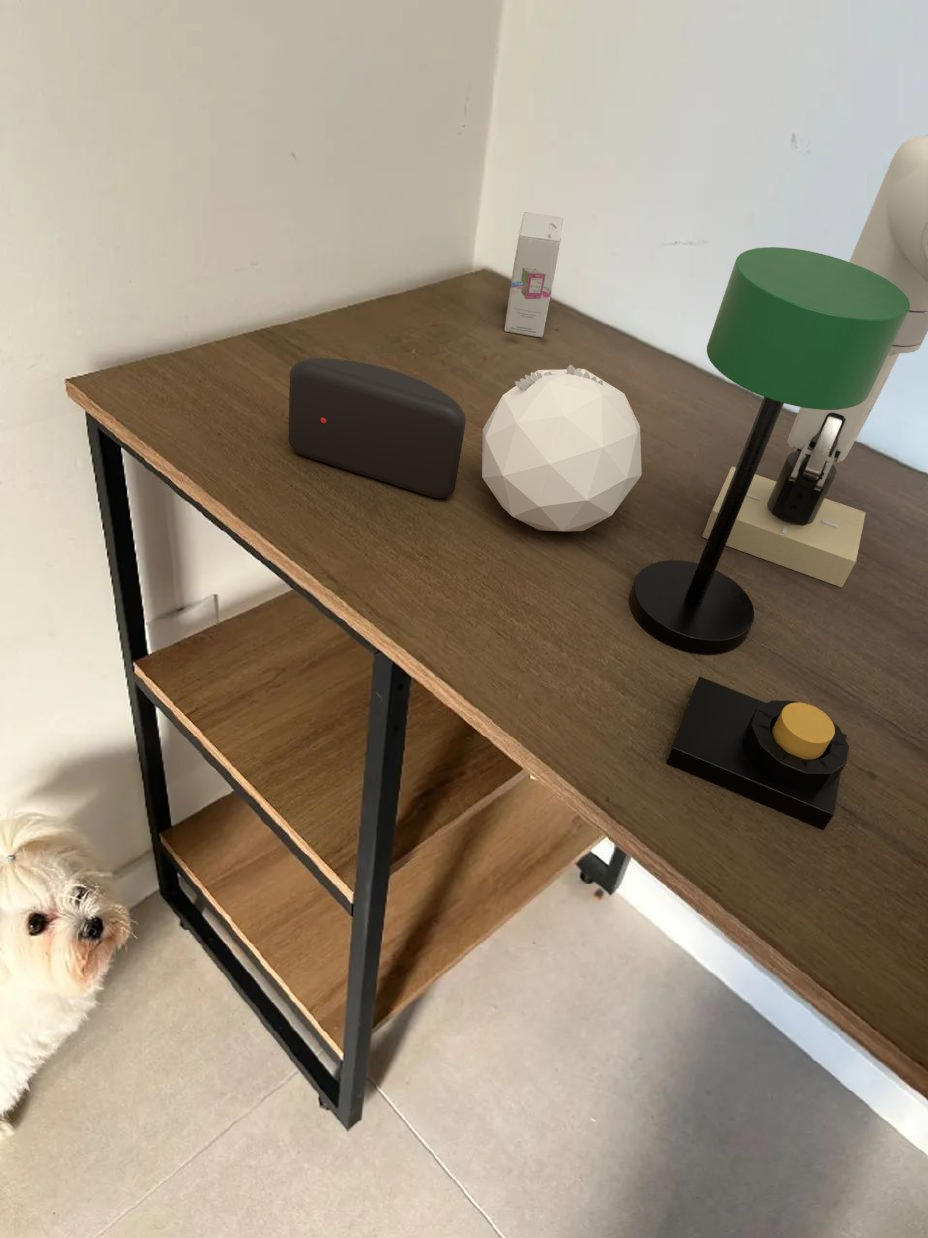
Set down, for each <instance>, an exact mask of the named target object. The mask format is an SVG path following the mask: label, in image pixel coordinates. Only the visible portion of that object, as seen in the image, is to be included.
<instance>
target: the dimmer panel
mask: <svg viewBox="0 0 928 1238" xmlns="http://www.w3.org/2000/svg"><path fill="white" fill-rule="evenodd" d="M735 470H736V466H730V469H729V472H728V474H727V475H726V478H725V481H724V482H723V485H722V487H721V489H720V492H719V494H718V497H717V498H716V500H715V503H714V504H713V507H712V510H711V512H710V515H709V518H708V520H707V522H706V525H705V527H704V530H703V533H702V535H701V537H702V538H705V539H706V540H708V538H709V535H710V533H711V530H712V528H713V525H714V523H715V520H716V518H717V515H718V513H719V510H720V508H721V505H722V503H723V500H724V497H725V495H726V492H727V490H728V487H729V485H730V482H731V480H732V477H733V475H734V472H735ZM776 482H777V480H773V479H770V478H767V477H764V476H762V475H759V474H756V473H755V475H754V477H753V480H752V482H751V485H750V487H749V490H748V492H747V494H746V497H745V499H744V502H743V504H742V507H741V509H740V511H739V514H738V516H737V519H736V521H735V524H734V526H733V528H732V531H731V533H730V536H729V538H728V541H727V543H726V545H725V547H726V546H727V547H729V548H732V549H734V550H737V551H740V552H742V553H746V554H748V555H751V556H753V557H756V558H758V559H759V558H760V559H762V560H764V561H768V562H770V563H773V564H775V565H778V566H781V567H783V568H787V569H789V570H792V571H795V572H797V573H800V574H803V575H806V576H808V577H811V578H814V579H817V580H819V581H822V582H825V583H828V584H830V585H833V586H836V587H839V588H843V587H844V585H845V583H846V582H847V580H848V577H849V576H850V575H851V572H852V571H853V569H854V566H855V565H856V564H857V558H858V555H859V554H858V553H859V550H860V549H859V548H860V544H861V538H862V534H863V528H864V524H865V519H866V511H864V510H861V509H857V508H854V507H851V506H849V505H846V504H843V503H840V502H837V501H834V500H831V499H828V498H826V497H825V498H824V500H823V503H822V505H821V507H820V509H819V511H818V513H817V515H816V517H815V519H814V521H813V522H812V523H810V524H806V525H805V526H801V525H796V524H792V523H788V522H785V521H783V520H781V519H779V518H777V517H776V516H774V515H773V514H772V513H771V512H770V510H769V509H768V506H767V503H768V500H769V498H770V496H771V493H772V491H773V489H774V486H775V484H776Z"/></svg>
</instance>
